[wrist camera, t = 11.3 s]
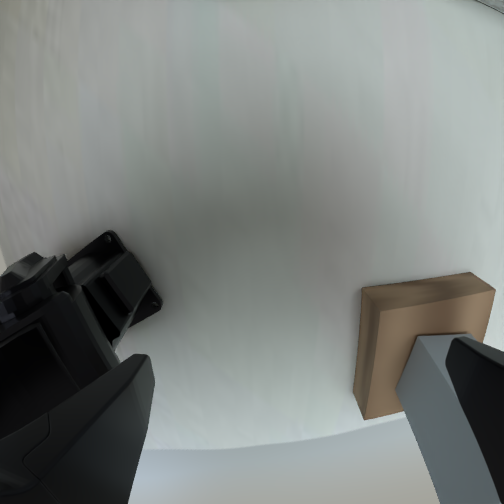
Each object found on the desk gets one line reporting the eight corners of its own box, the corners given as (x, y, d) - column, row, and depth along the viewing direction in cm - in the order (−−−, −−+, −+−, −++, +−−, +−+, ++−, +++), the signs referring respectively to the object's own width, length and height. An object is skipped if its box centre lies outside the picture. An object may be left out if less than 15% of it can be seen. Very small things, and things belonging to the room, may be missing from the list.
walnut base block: (351, 388, 25) (363, 420, 22) (360, 285, 22) (380, 311, 19) (446, 366, 25) (466, 391, 22) (467, 270, 22) (495, 289, 18)
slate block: (394, 389, 21) (451, 538, 9) (417, 336, 19) (507, 495, 7) (446, 384, 21) (511, 510, 9) (470, 333, 19) (563, 462, 7)
